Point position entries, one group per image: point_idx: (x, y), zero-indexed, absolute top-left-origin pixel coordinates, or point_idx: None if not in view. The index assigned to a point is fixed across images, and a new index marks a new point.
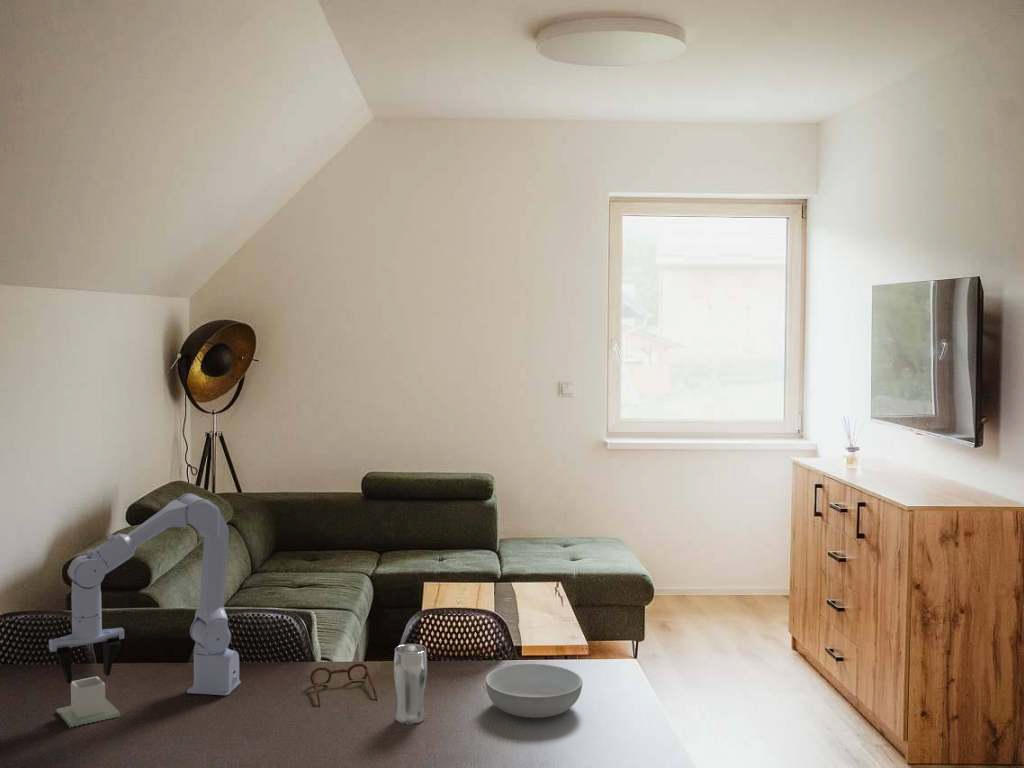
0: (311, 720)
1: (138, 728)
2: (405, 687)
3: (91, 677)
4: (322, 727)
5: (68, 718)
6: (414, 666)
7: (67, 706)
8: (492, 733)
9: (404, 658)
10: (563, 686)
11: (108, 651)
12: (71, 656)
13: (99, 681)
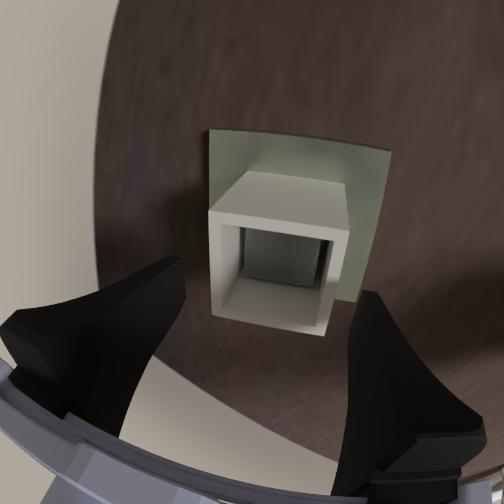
0: (489, 446)
1: (342, 370)
2: (501, 500)
3: (317, 225)
4: (474, 458)
5: None
6: None
7: (246, 131)
8: (496, 484)
9: None
10: None
11: (340, 461)
12: (119, 425)
13: (323, 295)
